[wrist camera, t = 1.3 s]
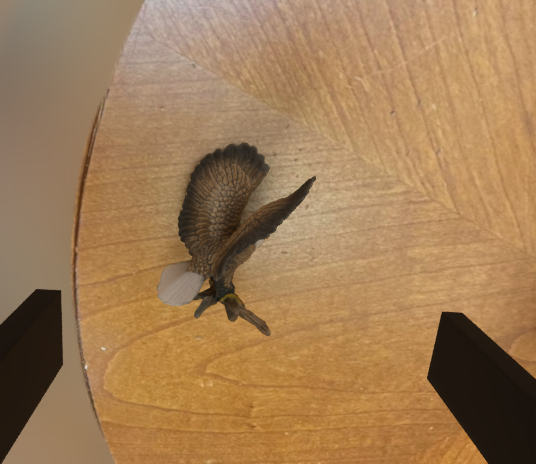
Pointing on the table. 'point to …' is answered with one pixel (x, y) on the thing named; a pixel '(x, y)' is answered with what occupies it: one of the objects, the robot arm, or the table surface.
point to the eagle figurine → (223, 230)
